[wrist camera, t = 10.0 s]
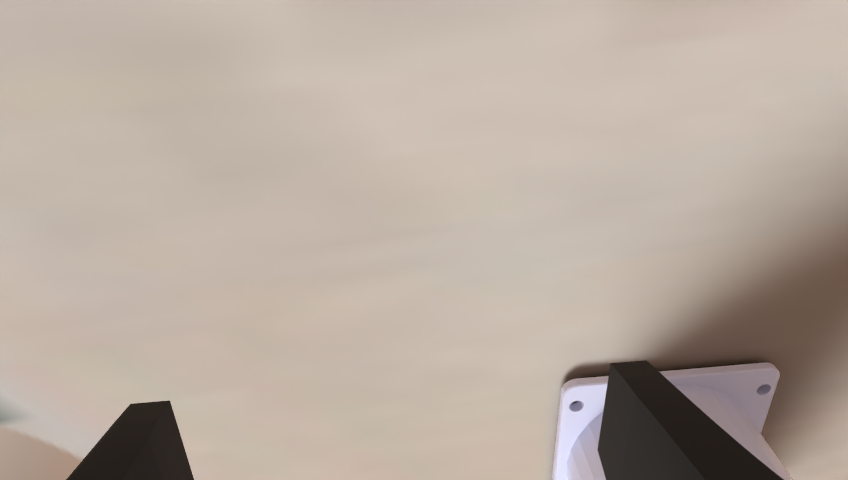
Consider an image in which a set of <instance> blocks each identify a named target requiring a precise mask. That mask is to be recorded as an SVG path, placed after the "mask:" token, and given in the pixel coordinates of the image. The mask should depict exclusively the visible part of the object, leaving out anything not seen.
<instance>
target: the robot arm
mask: <svg viewBox="0 0 848 480" xmlns="http://www.w3.org/2000/svg"><path fill="white" fill-rule="evenodd" d="M779 378H780V373H779V371H778V370H777V368H776V367H775V366H774V365H773V364H771V363H766V362H765V363H753V364H741V365H729V366H718V367H706V368H694V369H683V370H671V371H658V370H656V369H655V368H654V367H653V366H652V365H651V364H650V363H649V362H647V361H635V362H623V363H611V364H610V371H609V376H601V377H589V378H577V379H572V380H570V381H568V382H566V383H565V384H564V385H563V387H562V389H561V396H560V406H559V415H558V425H557V434H556V443H555V453H554V462H553V472H552V480H793V479H792V477H791V476H790V475H789V473H788V472H787V470H786V469H785V468H784V466H783V465H782V463H781V462H780V460H779V459H778V458H777V456H776V455H775V453H774V452H773V451H772V449H771V448H770V446H769V445H768V443H767V442H766V441H765V439H764V438H763V436H762V435H761V432H762V429H763V426H764V423H765V420H766V417H767V414H768V411H769V408H770V405H771V402H772V399H773V396H774V393H775V390H776V387H777V384H778V381H779ZM761 385H762V386H761ZM574 401H578V402H577V403H574V404H571V403H572V402H574ZM66 480H194V478H193V475H192V472H191V469H190V465H189V462H188V459H187V456H186V452H185V449H184V446H183V442H182V439H181V436H180V433H179V429H178V426H177V423H176V420H175V416H174V413H173V410H172V406H171V403H170V401H160V402H148V403H137V404H130V405H129V407H128V408H127V409H126V410H125V411H124V412H123V413H122V414H121V416H120V417H119V418H118V419H117V420H116V421H115V422H114V424H113V425H112V426H111V427H110V428H109V430H108V431H107V432H106V433H105V434H104V436H103V437H102V438H101V439H100V440H99V442H98V443H97V444H96V445H95V446H94V447H93V449H92V450H91V451H90V452H89V453H88V455H87V456H86V457H85V458H84V459H83V461H82V462H81V463H80V464H79V465H78V466H77V468H76V469H75V470H74V471H73V472H72V474H71V475H70V476H69V477H68V478H67V479H66Z"/></svg>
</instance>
